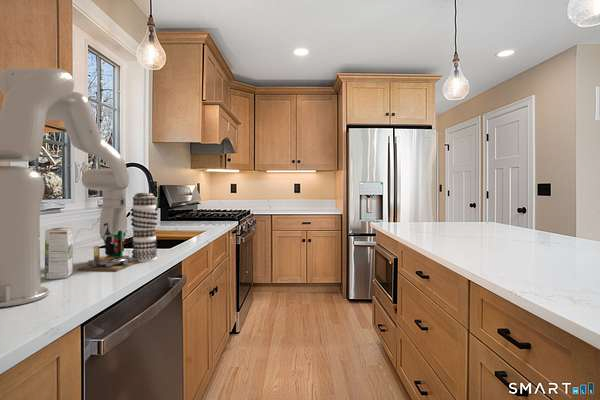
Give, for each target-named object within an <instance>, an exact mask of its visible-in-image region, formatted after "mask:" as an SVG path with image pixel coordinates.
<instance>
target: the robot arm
mask: <svg viewBox="0 0 600 400" xmlns="http://www.w3.org/2000/svg"><path fill="white" fill-rule="evenodd" d="M74 90H75V80H74V77H73V75H71V73H69V72H68V71H66V70H64V69H62V68H59V67H58V68H57V67H9V68H5V69H2V70H1V71H0V92H1V93H2V95H3V96H4V97H3V100H2V105H1V109H0V162H2V163H6V162H7V163H10V162H12V163H14V162H15V163H17V162H19V163H20V162H22V163H23V162H31V161H35V160H37V159H38V158H39V157H40V155H41V152H42V149H43V148H42V147H43V143H44V136H45V126H46V120H48V121H51V120H52V121H62V123H63V125H64V128H65V130H66V133H67V135H68V139H70V142H71V144H72V146H73V147H74V148H76V149H77V150H79V151H82V152H84V153H87V154H88V155H90V156H91V155H92V156H94V157H97V158H98V159H99V160H102V161H103V162H104V163H106V164H107V165H108V166H109V168H89V169H87V170H85V171H84V172H83V173H82V175H81V183H82V185H83V187H85V189H87V190H91V191H102V208H101V210H100V216H99V217H100V218H99V235H100V238H101V239H102V240H103V242H104V244H105V245H104V250H105V251H104V252H105V255H106V256H107V255H114V254H115V244H113V243H114V236H115V235H117V233H118V231H119V230H122V253H124V252H125V248H124V247H125V244H124V243H125V242H124V241H125V237H126V235H127V233H128V218H127V210H126V208H127V194H126V193H127V190H126V189H127V187H128V186H129V184H130V175H129V170H128V168H127V165H126V162H125V160H124V158H123V157H122V155H121V153H119V151H118V150H116V149H115V147H114V146H112V145H111V144H110V143H108V142H107V141H106V140H104V138H103V137H102V135H101V132H100V129H99V125H98V124H97V123H98V122H97V121H96V118H95V115H94V111H93V109H92V107H91V106H92V105H91V104H90V101H89V99H88V97H86V95H84V94H83V93H81V92H77V91H74ZM45 185H46V184H45V180H44V178H43V176H42V175H41V174H40V173H39V172H38V171H36V170H35V169H33V168H31V167H30V168H29V167H26V166H19V165H0V308H4V307H5V308H7V307H12V306H19V305H23V304H24V305H25V304H29V303H32V302H36V301H38V300H42V299H43V298H45V297H47V296H48V295H49V294H50V293H49V288H48V287H44V286H42V285H41V282H42V281H41V230H40V229H41V227H40V226H41V223H40V222H41V220H40V219H41V208H42V203H43V199H44V194H45V188H46V187H45ZM108 233H110V234H111V235H108ZM109 237H111V239H110V238H109Z"/></svg>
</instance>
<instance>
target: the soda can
mask: <svg viewBox="0 0 600 400" xmlns="http://www.w3.org/2000/svg"><path fill="white" fill-rule="evenodd" d="M108 235H111V234H110V233H108ZM109 238H110V239H111V237H109ZM113 244H115V254H114V255H115V256H123V252H122V230H119V231H118V233H117V235H115V236H114V243H113ZM114 255H106V256H114Z"/></svg>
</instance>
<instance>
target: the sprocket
mask: <svg viewBox="0 0 600 400" xmlns="http://www.w3.org/2000/svg"><path fill="white" fill-rule="evenodd" d="M132 261H133V257H132V256H130V255H126V254H125V255H122V256H115V255H114V256H107V255H106V256H105V255H103V256H100V245H95V246H94V245H93V259H89V260H88V262H87V265H92V267H97V266H106V267H111V266H114V265H121V264H122V265H125V264H128V262H132Z"/></svg>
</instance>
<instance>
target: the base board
mask: <svg viewBox="0 0 600 400" xmlns="http://www.w3.org/2000/svg"><path fill="white" fill-rule="evenodd" d="M138 263H139V262H138V260H133V261H132V262H128V264H125V265H122V264H121V265H114V266H111V267H106V266H97V267H92V265H88V264H86V265H83V266H80V267H77V268H76V269H77V271H78V272H79V271H80V272H81V271H82V272H119V271H121V270H124V269H126V268H128V267H131V266H133V265H136V264H138Z"/></svg>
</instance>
